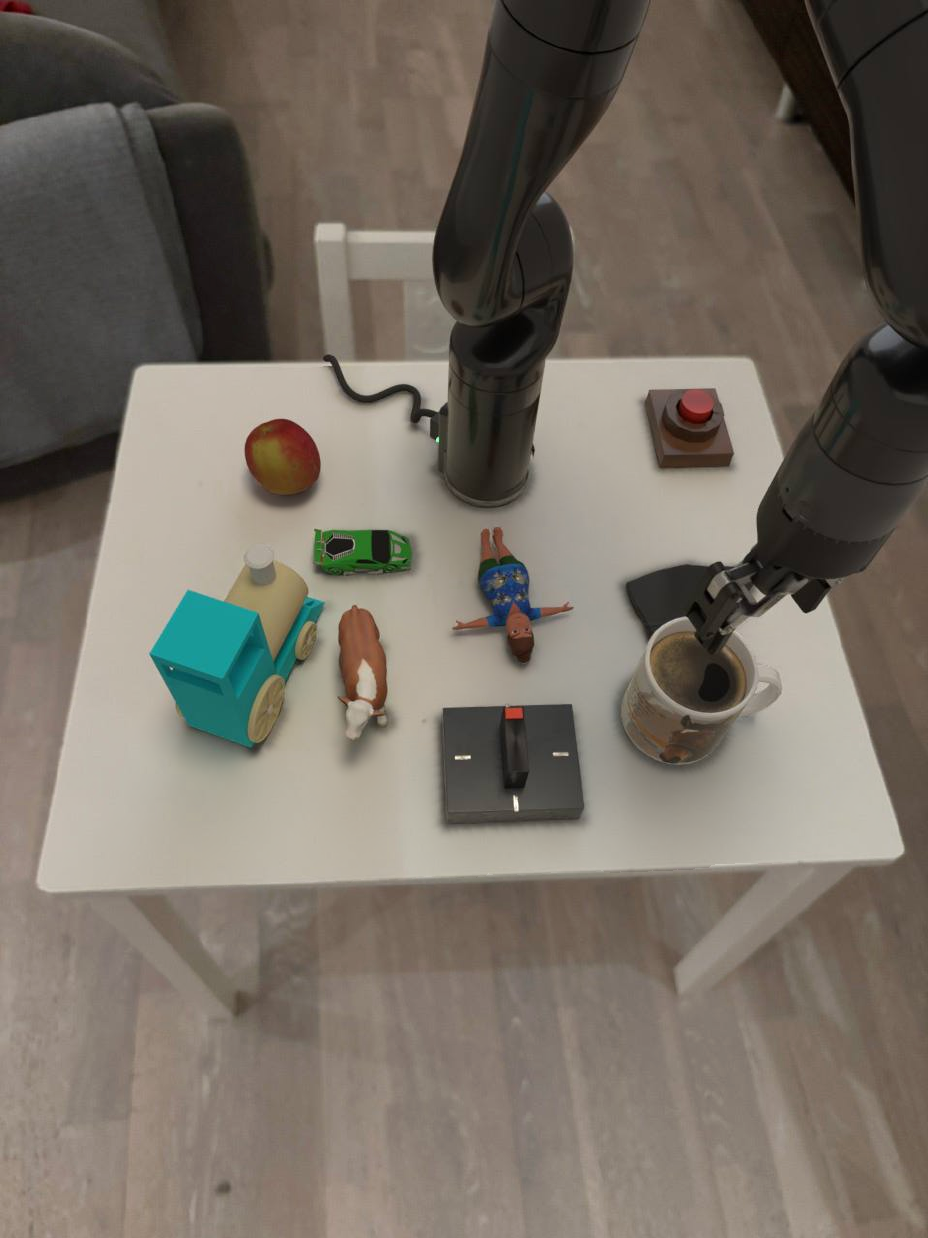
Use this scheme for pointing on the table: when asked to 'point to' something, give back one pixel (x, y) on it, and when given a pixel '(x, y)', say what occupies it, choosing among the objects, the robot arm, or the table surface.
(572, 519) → the table surface
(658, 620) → the fan shaped piece
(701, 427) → the button block
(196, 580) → the table surface
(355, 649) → the bull figurine
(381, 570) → the toy car
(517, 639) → the toy character
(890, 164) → the robot arm
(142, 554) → the table surface
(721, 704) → the mug
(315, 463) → the apple
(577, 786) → the dial panel
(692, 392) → the button
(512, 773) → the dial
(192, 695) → the toy train
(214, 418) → the table surface
